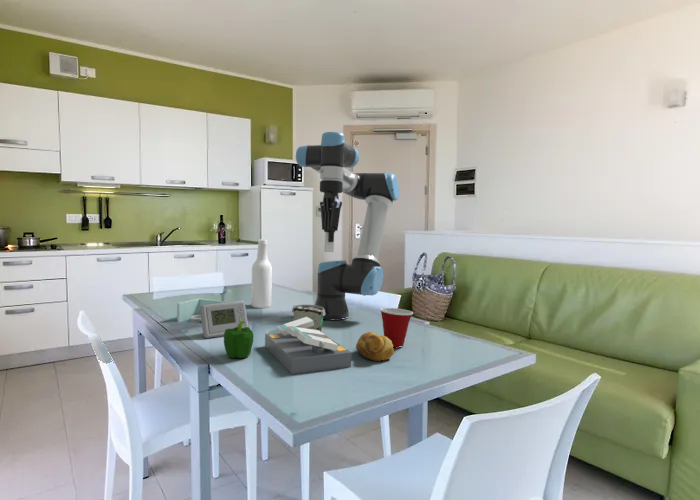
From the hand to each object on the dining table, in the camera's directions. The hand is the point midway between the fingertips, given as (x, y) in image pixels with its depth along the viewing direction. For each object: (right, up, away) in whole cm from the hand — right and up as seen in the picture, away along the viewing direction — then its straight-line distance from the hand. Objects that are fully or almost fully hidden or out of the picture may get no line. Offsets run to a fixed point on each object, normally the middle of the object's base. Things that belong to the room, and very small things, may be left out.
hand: (328, 251), depth 144 cm
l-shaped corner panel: (-50, -27, +21) cm, 60 cm away
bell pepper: (-25, -30, -20) cm, 44 cm away
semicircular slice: (-6, -29, +6) cm, 30 cm away
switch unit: (-6, -31, -17) cm, 35 cm away
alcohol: (-33, -25, +50) cm, 65 cm away
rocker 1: (-10, -23, -10) cm, 27 cm away
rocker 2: (-6, -24, -18) cm, 30 cm away
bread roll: (+14, -31, -15) cm, 37 cm away
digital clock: (-36, -28, +3) cm, 45 cm away
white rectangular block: (-2, -24, -26) cm, 35 cm away
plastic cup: (+22, -31, -3) cm, 38 cm away
